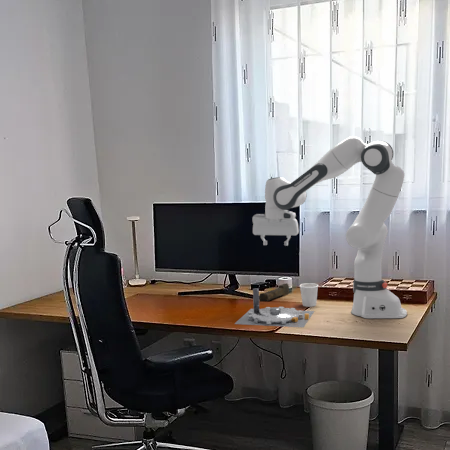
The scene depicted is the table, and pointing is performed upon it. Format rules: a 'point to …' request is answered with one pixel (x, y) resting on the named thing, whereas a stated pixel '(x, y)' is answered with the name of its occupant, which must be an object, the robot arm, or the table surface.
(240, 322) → the base plate
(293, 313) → the sprocket
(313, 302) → the dixie cup
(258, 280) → the table surface
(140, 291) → the table surface
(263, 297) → the brown wooden log
